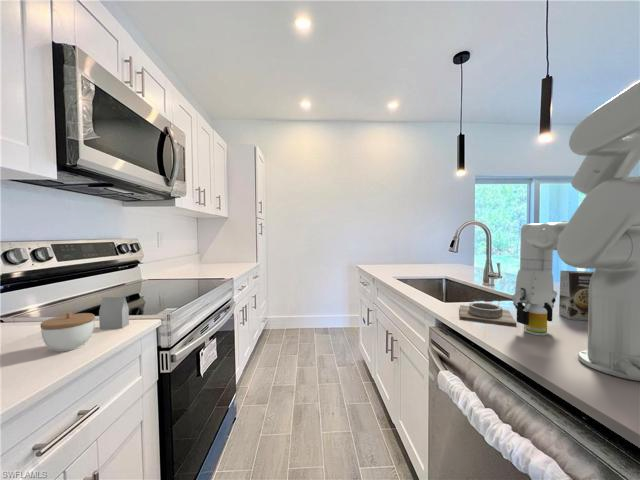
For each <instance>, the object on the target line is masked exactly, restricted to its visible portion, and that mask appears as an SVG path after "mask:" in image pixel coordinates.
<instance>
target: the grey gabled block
mask: <svg viewBox="0 0 640 480" xmlns="http://www.w3.org/2000/svg"><path fill="white" fill-rule="evenodd" d="M101 298H102V299H101V302H100V303H101V304H100V308H99V310H98V319H99V321H98V323H99V330H118V329H119V330H120V329H124V328H125V327H128V326H129V325H130V317H129V312H130V311H129V304H128V302H127V298H126V296H102V297H101Z"/></svg>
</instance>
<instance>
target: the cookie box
mask: <svg viewBox="0 0 640 480" xmlns="http://www.w3.org/2000/svg"><path fill="white" fill-rule="evenodd" d="M593 273H594V271H584V270H583V271H580V270H578V271H577V270H560V274H559V277H560V278H559V300H558V301H559V303H558V304H559V305H558V308H559V309H558V314H559V315H561V316H563V317H564V318H567V319H569V320H574V321H575V320H576V321H577V320H580V321H588V300H589V283H590V279H591V277H592V275H593Z"/></svg>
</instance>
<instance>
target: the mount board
mask: <svg viewBox="0 0 640 480" xmlns="http://www.w3.org/2000/svg"><path fill="white" fill-rule="evenodd" d="M459 307H460V308H459V311H460V312H459V320H462V321H463V320H464V321H471V322H478V323H479V322H480V323H487V324H488V323H489V324H496V325H504V326H510V327H517V323H518V322H517V320H515V318H514V316H513V315H512V313H511V312H510V310H509V309H503V307H502V306H500V305H498V304H493V303H487V302H471V303H469V304H468V305H464V304H463V305H462V304H460V306H459Z"/></svg>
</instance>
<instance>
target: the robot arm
mask: <svg viewBox="0 0 640 480" xmlns="http://www.w3.org/2000/svg"><path fill="white" fill-rule="evenodd" d="M568 146H569V149H570V151H571V152H573V154H576V155H578V156H584V159H583V161H582V163H581V164H580V165H579V167H578V169H577V171H576V173H575V174H574V176H573V177H572V179H571V181H570V184H571V187H573V189H575V190H576V191H578V192H579V193H581V194H583V195H585V197H584V199H583V200H581V203H580V204H579V206H578V207H577V209H576V210H575V211H574V213H573V214H572V217H571V218H570V219H569V220H568V221H557V222H556V221H555V222H552V221H551V222H544V223H526V224H524V225H522V226H521V229H520V252H519V253H520V255H519V258H520V259H519V261H520V262H519V269H518V272H517V275H516V281H515V290H514V293H513V295H511V299H512V302H513V306H514V307H515V309H516V323H519V324H522V325H524V324H525V325H529V311H527V310H528V309H529V307H530V305H531V304H539V303H540V302H544V306H543V308H545V309H546V310H547V322H552V321H553V313H554V311H553V309H554V307H555V302H556V299H557V295H558V292H557V291H555V289H554V277H553V276H554V275H553V263H554V261H553V259H554V257H553V255H554V254H553V253H554V251H556V252H557V256H558V257H559V259H560V260H561V261H562V262H563V263H565V264H566V265H568V266H570V267H574V268H576V269H577V268H578V269H590V270H591V269H594V271H593V272H594V273H593V275H592V277H591V279H590V283H589V300H588V320H587V349H584V350H580V351H579V352H578V353H577V355H578V356H577V358H578V360H579V361H580V362H581V363H582V364H583V365H586V366H588V367H589V368H592V369H594V370H596V371H598V372H602V373H604V374H607V375H610V376H612V377H613V376H614V377H617V378H622V379H625V380H629V381H638V382H640V176H630V174H631V172H633V170H634V168H635V167H636V166H637V164H638V163H639V162H640V80H638V81H637V82H635V83H634V84H632V85H631V86H629V87H627V88H626V89H624V90H623V91H621V92H620V93H619V94H617V95H616V96H614V97H612V98H611V99H609V100H608V101H606V102H605V103H604V104H601V106H599V107H597V108H596V109H595V110H593V111H592V112H591V113H589V114H588V115H586V116H585V117H584V118H583V119H582V120H581V121H580V122H579V123H578V124H577V125H576V126H575V128H574V129H573V130H572V132H571V134H570V136H569V141H568Z"/></svg>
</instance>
